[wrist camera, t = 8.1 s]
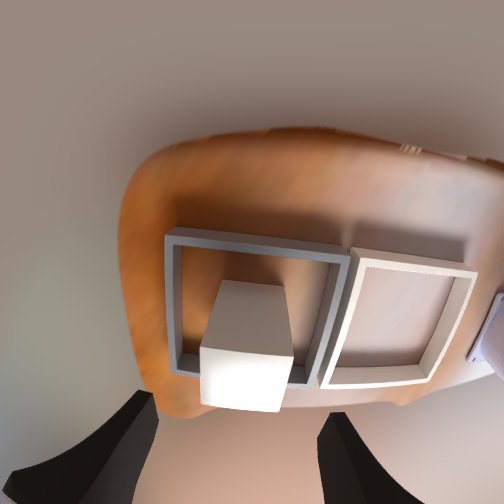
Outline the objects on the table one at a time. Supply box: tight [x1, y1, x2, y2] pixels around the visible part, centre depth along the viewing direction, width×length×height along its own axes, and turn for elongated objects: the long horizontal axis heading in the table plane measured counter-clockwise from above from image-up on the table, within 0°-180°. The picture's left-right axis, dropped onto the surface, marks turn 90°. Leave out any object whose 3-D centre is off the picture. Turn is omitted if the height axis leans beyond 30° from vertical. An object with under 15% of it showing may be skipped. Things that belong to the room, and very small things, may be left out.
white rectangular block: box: [200, 279, 294, 412], centre depth 15 cm, size 4×4×7 cm
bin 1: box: [164, 226, 351, 389], centre depth 17 cm, size 10×10×2 cm
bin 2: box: [317, 247, 478, 389], centre depth 17 cm, size 10×10×2 cm
